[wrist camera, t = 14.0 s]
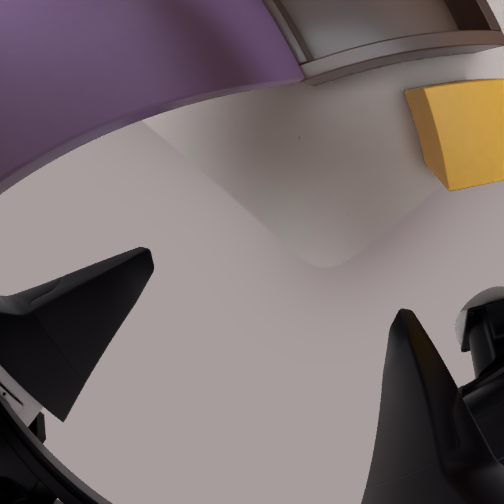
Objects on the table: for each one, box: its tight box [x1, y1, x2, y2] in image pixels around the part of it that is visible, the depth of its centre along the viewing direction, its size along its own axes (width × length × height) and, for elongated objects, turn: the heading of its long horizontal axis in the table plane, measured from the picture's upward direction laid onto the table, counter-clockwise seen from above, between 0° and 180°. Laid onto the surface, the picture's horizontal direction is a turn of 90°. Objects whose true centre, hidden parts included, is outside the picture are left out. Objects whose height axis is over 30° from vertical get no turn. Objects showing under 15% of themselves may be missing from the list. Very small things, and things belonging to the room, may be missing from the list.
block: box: [404, 79, 504, 191], centre depth 10 cm, size 5×5×5 cm
